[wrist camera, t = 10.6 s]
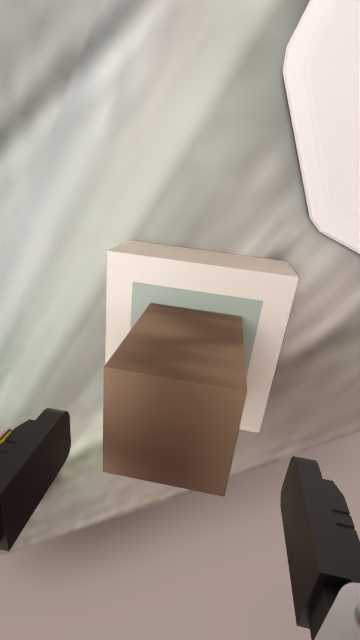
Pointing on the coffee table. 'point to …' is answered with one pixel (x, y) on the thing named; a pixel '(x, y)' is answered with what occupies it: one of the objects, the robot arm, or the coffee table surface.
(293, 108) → the plate
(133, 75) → the coffee table surface
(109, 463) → the walnut block
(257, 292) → the base
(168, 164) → the coffee table surface
